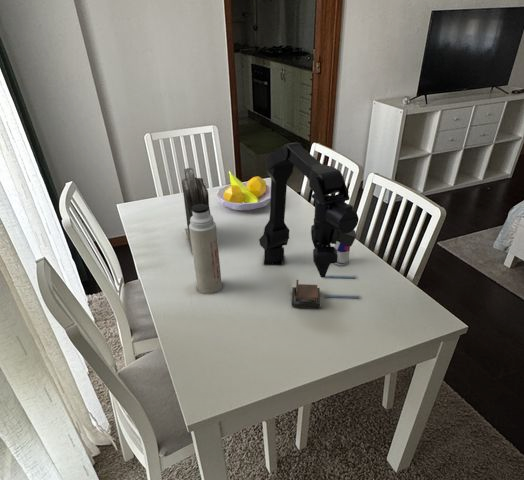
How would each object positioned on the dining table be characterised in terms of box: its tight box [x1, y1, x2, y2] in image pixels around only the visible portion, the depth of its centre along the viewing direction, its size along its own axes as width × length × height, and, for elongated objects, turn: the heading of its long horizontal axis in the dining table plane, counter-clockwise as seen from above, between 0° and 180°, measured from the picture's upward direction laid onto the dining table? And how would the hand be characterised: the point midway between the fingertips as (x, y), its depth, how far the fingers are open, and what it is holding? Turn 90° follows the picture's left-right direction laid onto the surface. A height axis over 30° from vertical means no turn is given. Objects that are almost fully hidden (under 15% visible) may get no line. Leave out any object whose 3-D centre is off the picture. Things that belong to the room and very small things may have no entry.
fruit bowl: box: [215, 170, 271, 212], centre depth 186 cm, size 28×27×11 cm
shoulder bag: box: [181, 167, 212, 254], centre depth 154 cm, size 23×9×28 cm, turn 16°
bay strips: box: [324, 275, 360, 299], centre depth 133 cm, size 10×12×1 cm
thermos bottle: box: [189, 204, 223, 295], centre depth 126 cm, size 8×8×28 cm
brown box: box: [291, 279, 321, 309], centre depth 126 cm, size 9×9×6 cm
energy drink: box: [333, 241, 351, 266], centre depth 142 cm, size 5×5×12 cm
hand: (321, 268), depth 118 cm, fingers open, 9 cm apart
